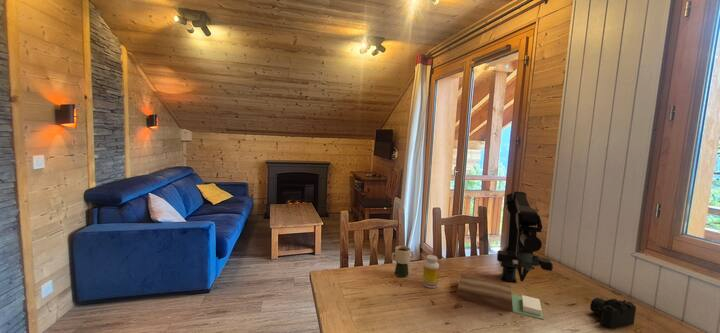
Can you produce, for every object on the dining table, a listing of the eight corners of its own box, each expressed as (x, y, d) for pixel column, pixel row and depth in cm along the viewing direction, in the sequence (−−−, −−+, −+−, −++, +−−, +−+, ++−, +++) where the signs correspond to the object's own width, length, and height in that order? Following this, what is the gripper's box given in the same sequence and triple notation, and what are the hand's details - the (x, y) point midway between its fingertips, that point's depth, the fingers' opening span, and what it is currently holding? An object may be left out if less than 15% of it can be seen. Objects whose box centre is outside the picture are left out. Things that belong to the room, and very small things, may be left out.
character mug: (409, 270, 146) (410, 244, 145) (415, 277, 139) (417, 250, 138) (388, 272, 143) (389, 246, 142) (393, 279, 136) (394, 252, 135)
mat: (511, 294, 127) (511, 294, 127) (538, 301, 123) (538, 300, 123) (512, 312, 114) (513, 311, 114) (543, 319, 110) (543, 318, 110)
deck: (460, 283, 135) (461, 274, 135) (509, 294, 127) (510, 285, 127) (456, 298, 122) (457, 288, 122) (511, 311, 114) (512, 301, 114)
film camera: (609, 309, 118) (612, 288, 118) (638, 324, 109) (641, 301, 108) (580, 314, 114) (583, 292, 113) (608, 331, 105) (611, 306, 104)
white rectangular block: (539, 299, 120) (538, 303, 120) (522, 295, 122) (521, 299, 123) (541, 310, 112) (541, 315, 112) (523, 306, 114) (522, 311, 114)
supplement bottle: (438, 289, 129) (440, 261, 127) (422, 287, 130) (424, 259, 129) (437, 282, 135) (439, 254, 134) (422, 280, 137) (424, 253, 135)
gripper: (499, 244, 113) (495, 284, 115) (557, 254, 105) (552, 296, 107) (498, 236, 123) (495, 272, 125) (552, 244, 116) (547, 283, 117)
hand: (521, 280), depth 118 cm, fingers closed
